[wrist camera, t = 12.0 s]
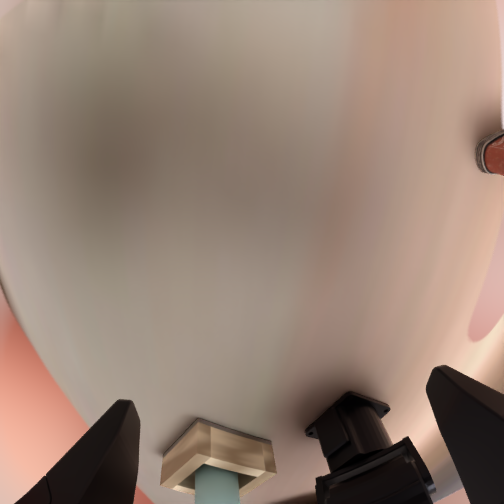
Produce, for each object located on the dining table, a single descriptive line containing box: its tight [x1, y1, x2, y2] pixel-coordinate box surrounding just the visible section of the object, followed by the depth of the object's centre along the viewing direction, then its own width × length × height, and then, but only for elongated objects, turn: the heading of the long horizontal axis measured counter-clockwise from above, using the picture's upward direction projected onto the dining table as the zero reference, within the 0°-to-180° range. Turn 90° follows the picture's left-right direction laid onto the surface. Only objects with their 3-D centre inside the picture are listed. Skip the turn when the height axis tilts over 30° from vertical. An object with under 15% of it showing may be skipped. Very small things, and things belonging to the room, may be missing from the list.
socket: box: [160, 418, 277, 497], centre depth 26 cm, size 8×8×4 cm
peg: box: [195, 464, 240, 504], centre depth 23 cm, size 4×4×10 cm
